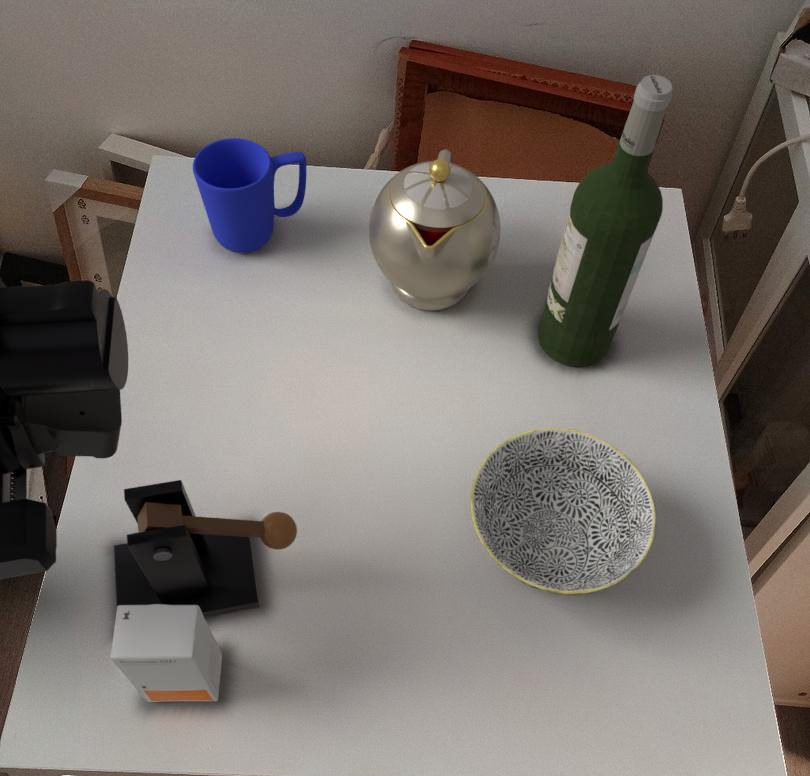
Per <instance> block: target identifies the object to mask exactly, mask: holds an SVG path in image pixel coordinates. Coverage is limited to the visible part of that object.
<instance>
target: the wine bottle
mask: <svg viewBox="0 0 810 776" xmlns="http://www.w3.org/2000/svg"><path fill="white" fill-rule="evenodd" d="M672 98H673V84H672V82H671V81H670V80H669V79H668V78H666V77H664V76H662V75H659V74H658V75H657V74H650V75H646V76H644V77H643V78H642V79H641V80H640V82H639V83H638V84H637V85H636V88H635V91H634V94H633V102H632V105H631V107H630V108H631V109H630V111H629V114H628V116H627V120H626V121H625V124H624V127H623V131H622V133H621V137H620V139H619V141H618V145H617V148H616V150H615V153H614V157H613V159H612V160H611V162H609V163H605V164H603V165H600V166H597V167H595V168H594V169H593V170H591V171H589V172H588V173H587V174H585V176H584V177H582V179H581V180H580V182H579V183H578V185H577V187H576V188H575V190H574V193H573V196H572V200H571V204H570V208H569V212H568V215H567V218H566V222H565V226H564V229H563V230H564V231H563V235H562V238H561V240H560V241H561V242H560V245H559V248H558V252H557V256H556V260H555V264H554V268H553V272H552V276H551V279H550V283H549V287H548V290H547V294H546V298H545V302H544V305H543V309H542V313H541V317H540V321H539V324H538V330H537V338H538V341H539V345H540V347H541V349H542V350H543V351H544V353H545V354H546V355H547V356H549V358H551V359H552V360H553V361H555V362H558V363H560V364H562V365H565V366H570V367H576V368H579V367H588V366H591V365H593V364H595V363H598V362H600V360H601V359H603V358H604V357H605V356H606V355H607V353H608V352H609V350H610V347H611V345H612V343H613V341H614V340H613V339H614V338H615V336H616V333H617V330H618V328H619V325H620V323H621V320H622V318H623V315H624V313H625V309H626V307H627V304H628V302H629V300H630V297H631V294H632V292H633V289H634V287H635V284H636V282H637V280H638V277H639V274H640V271H641V268H642V266H643V264H644V261H645V260H646V259H645V258H646V255H647V254H648V251H649V248H650V246H651V243H652V241H653V238H654V235H655V232H656V230H657V228H658V225H659V223H660V220H661V217H662V215H663V207H664V206H663V205H664V202H663V201H664V200H663V195H662V191H661V189H660V186H659V185H658V183H657V181H656V179H655V178H654V177H653V176H652V175H651V173H650V172H649V167H650V164H651V160H652V157H653V153H654V150H655V147H656V144H657V140H658V137H659V134H660V131H661V129H662V128H661V127H662V124H663V121H664V117H665V114H666V112H667V108H668V107H669V105H670V103H671V100H672Z"/></svg>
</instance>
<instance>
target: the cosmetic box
mask: <svg viewBox="0 0 810 776" xmlns="http://www.w3.org/2000/svg"><path fill="white" fill-rule="evenodd" d="M109 657H110V660H111V661H112V663H114V664H115V666H116V667H117V668H118V669H119V670H120V672H122V674H123V675H124V676H125V677H126V678H127V680H128V681H129V682H130V683H131V685H132V686H133V687H134V688H135V689H136V690H137V691H138V692H139V694H141V696H142V697H143V698H144V699H145V701H146V702H148V703H157V702H158V703H159V702H160V703H163V702H164V703H166V702H218V701H219V695H220V685H221V684H220V683H221V673H222V665H223V664H222V662H223V653H222V650H221V649H220V647H219V645H218V642H217V641H216V639H215V637H214V634H213V633H212V630H211V628H210V627H209V624H208V622H207V620H206V617H204V616H203V614H202V611H201V609H200V607H199V606H198V605H165V604H152V605H118V606H117V605H116V612H115V620H114V629H113V635H112V642H111V650H110V655H109Z"/></svg>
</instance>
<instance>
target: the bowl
mask: <svg viewBox="0 0 810 776" xmlns="http://www.w3.org/2000/svg"><path fill="white" fill-rule="evenodd" d="M655 507H656V506H655V501H654V498H653V495H652V492H651V489H650V487H649V485H648V483H647V481H646V479H645V478H644V476H643V475H642V473H641V472H640V470H639V469H638V468H637V466H636V465H635V464H634V463H633V462H632V461H631V459H630V458H629V457H628V456H627V455H625V454H624V453H623V452H622V451H620V450H619V449H618V448H616V447H615V446H614V445H612V444H610V443H609V442H607V441H606V440H603V439H601V438H600V437H597V436H595V435H593V434H590V433H587V432H583V431H580V430H575V429H571V428H561V427H546V428H537V429H532V430H528V431H524V432H521V433H519V434H517V435H514V436H512V437H510V438H508V439H506V440H505V441H503V442H502V443H500V444H499V445H498V446H496V447H495V448H494V449H493V450H491V452H490V453H488V455H487V456H486V458H485V459H484V460H483V462H482V463H481V464H480V466H479V468H478V470H477V472H476V474H475V477H474V480H473V482H472V485H471V492H470V513H471V518H472V523H473V526H474V529H475V531H476V535H477V537H478V538H479V541H480V542H481V544H482V546H483V547H484V549H485V550H486V551H487V553H488V554H489V555H490V557H491V558H492V560H494V561H495V562H496V563H497V564H498V565H499V566H500V567H501V568H502V569H503V570H504V571H506V572H507V573H508V574H510V575H511V576H512V577H513V578H515V579H516V580H518V581H520V582H521V583H523V584H526V585H527V586H530V587H531V588H534V589H536V590H537V589H538V590H541V591H544V592H549V593H554V594H555V593H556V594H561V595H562V594H564V595H583V594H590V593H595V592H600V591H602V590H605V589H608V588H610V587H612V586H615V585H616V584H619V583H620V582H622V581H624V580H625V579H626V578H628V577H629V576H631V574H633V573H634V572H635V571H636V570H637V569H638V568H639V567H640V565H641V564H642V563H643V562H644V560H645V558H646V557H647V556H648V553H649V552H650V549H651V547H652V544H653V542H654V538H655V534H656V527H657V526H656V525H657V517H656V516H657V515H656V508H655Z"/></svg>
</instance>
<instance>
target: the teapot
mask: <svg viewBox="0 0 810 776" xmlns="http://www.w3.org/2000/svg"><path fill="white" fill-rule="evenodd" d="M452 159H453V153H452V152H451V151H450V149H447V148H444V149H442V150H440V151H439V152H438V155H437V158H436V159H435V160H428V161H422V162H418V163H414V164H412V165H409V166H407V167H405V168H404V169H402V170H400V171H399V172H397V173H395V175H394V176H392V177H391V178H390V179H389V180H388V181H387V182H386V183H385V184H384V186H383V187H382V189H381V190H380V191H379V193H378V195H377V196H376V198H375V201H374V203H373V205H372V207H371V212H370V216H369V222H368V237H369V238H368V239H369V244H370V245H369V246H370V249H371V252H372V255H373V258H374V260H375V262H376V265H377V266H378V268H379V269H380V271H381V272H382V274H383V275H384V276H385V277H386V279H387V280H388V281H390V283H391V287H392V289H393V291H394V293H395V294H396V295H397V297H398V298H399V299H400V300H401V301H402V302H404V303H405V304H407V305H408V306H410V307H412V308H415V309H419V310H422V311H441V310H445V309H449V308H451V307H454V306H455V305H456V304H458V303H459V302H460V301H462V300H463V298H465V296H466V295H467V293H468V292H469V289H470V288H471V287H473V286H474V285H475V284H476V283H478V282H479V281H480V280H481V279H482V278H483V277H484V276H485V274H486V273H488V272H487V271H488V270H489V269H490V268H491V266H492V264H493V261H494V260H495V257H496V255H497V252H498V248H499V245H500V239H501V218H500V213H499V210H498V206H497V203H496V200H495V199H494V196H493V195H492V192H491V191H490V189H489V188H488V187H487V185H486V184H485V183H484V182H483V181H482V180H481V179H480V178H479V176H477V175H476V174H474V173H473V172H472V171H470V170H469V169H467V168H465V167H463V166H461V165H459V164H456V163H454V162H452Z"/></svg>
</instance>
